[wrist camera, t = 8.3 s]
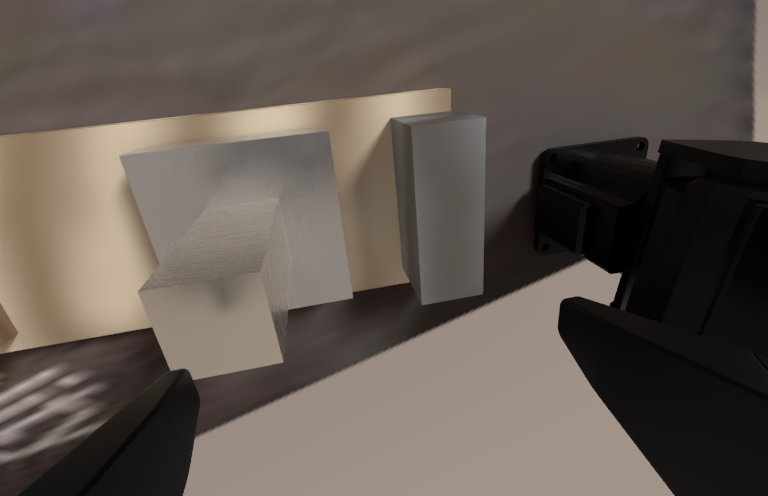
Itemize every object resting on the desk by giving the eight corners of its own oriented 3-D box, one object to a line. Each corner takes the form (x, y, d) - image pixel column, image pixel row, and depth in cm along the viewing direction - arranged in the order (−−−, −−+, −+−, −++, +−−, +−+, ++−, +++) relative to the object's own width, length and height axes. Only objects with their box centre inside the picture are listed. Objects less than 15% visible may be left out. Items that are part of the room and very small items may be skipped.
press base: (440, 88, 19) (486, 89, 14) (445, 263, 23) (482, 311, 18) (-100, 146, 16) (-281, 174, 11) (15, 336, 20) (-79, 418, 15)
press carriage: (326, 126, 17) (342, 163, 9) (349, 279, 21) (376, 407, 12) (139, 147, 16) (-29, 211, 8) (195, 305, 20) (114, 463, 11)
